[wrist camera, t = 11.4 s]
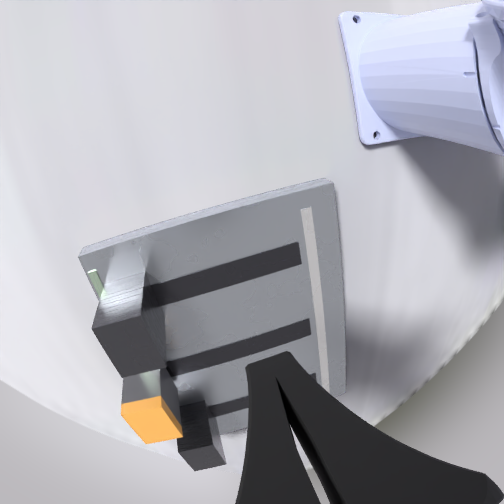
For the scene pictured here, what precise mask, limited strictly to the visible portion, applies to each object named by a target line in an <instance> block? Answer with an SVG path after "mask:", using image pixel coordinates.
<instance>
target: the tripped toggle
mask: <svg viewBox="0 0 504 504" xmlns="http://www.w3.org/2000/svg"><path fill="white" fill-rule="evenodd" d="M121 416H122V417H123V418H124V419H125V420H126V422H127V423H128V424H129V425H130V426H131V428H132V429H133V430H134V431H135V432H136V433H137V435H138V436H139V437H140V438H141V439H142V440H143V441H144V442H145V444H149V443H155V442H161V441H166V440H171V439H176V438H181V437H183V433H182V425H181V416H180V407H179V397H178V389H177V387H176V385H175V383H174V382H173V380H172V378H171V376H170V375H169V373H168V371H167V369H166V368H162V369H157V370H153V371H149V372H145V373H141V374H137V375H132V376H128V377H123V390H122V404H121Z"/></svg>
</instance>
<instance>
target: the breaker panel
mask: <svg viewBox="0 0 504 504" xmlns="http://www.w3.org/2000/svg"><path fill="white" fill-rule="evenodd" d="M78 258H79V260H80V262H81V264H82V267H83V269H84V271H85V273H86V275H87V277H88V279H89V282H90V284H91V286H92V288H93V290H94V292H95V294H96V296H97V298H98V300H99V304H98V308H97V311H96V315H95V318H94V322H93V325H92V330H93V332H94V334H95V335H96V337H97V339H98V340H99V342H100V344H101V345H102V347H103V349H104V350H105V352H106V354H107V355H108V357H109V358H110V360H111V362H112V363H113V365H114V366H115V368H116V369H117V371H118V372H119V374H120V375H121V377H122V378H123V377H128V376H132V375H137V374H141V373H145V372H149V371H153V370H157V369H162V368H166V369H167V371H168V373H169V375H170V376H171V378H172V380H173V382H174V383H175V385H176V387H177V389H178V397H179V407H180V416H181V425H182V433H183V437H181V438H177V446H178V453H179V454H180V455H181V456H182V457H183V458H184V460H185V461H186V462H187V463H188V464H189V465H190V466H191V467H192V469H193V470H194V471H198V470H203V469H207V468H212V467H216V466H221V465H225V464H226V460H225V456H224V452H223V447H222V443H221V438H220V435H222V434H226V433H229V432H233V431H237V430H240V429H244V428H247V427H248V405H249V403H248V383H247V375H246V370H245V367H246V366H247V365H248V364H250V363H253V362H256V361H259V360H262V359H265V358H268V357H271V356H274V355H276V354H279V353H282V352H285V351H288V352H291V354H292V355H293V356H294V358H295V359H296V360H297V361H298V363H299V364H300V365H301V366H302V367H303V368H304V369H305V370H306V371H307V373H308V374H309V375H310V376H311V377H312V378H313V379H314V380H315V381H316V382H317V383H319V384H320V385H321V386H322V387H323V388H324V389H325V390H326V391H327V392H328V393H330V394H331V395H332V396H333V397H337V396H339V395H342V394H344V393H346V348H345V316H344V295H343V278H342V264H341V251H340V239H339V228H338V218H337V209H336V199H335V191H334V183H333V182H331V181H329V180H327V179H325V178H321V179H317V180H313V181H309V182H305V183H301V184H297V185H293V186H289V187H285V188H281V189H277V190H273V191H270V192H266V193H262V194H258V195H254V196H251V197H247V198H243V199H240V200H236V201H232V202H229V203H225V204H222V205H218V206H215V207H211V208H208V209H204V210H201V211H197V212H194V213H190V214H187V215H184V216H180V217H177V218H174V219H170V220H167V221H164V222H160V223H157V224H154V225H151V226H147V227H144V228H141V229H138V230H135V231H132V232H129V233H125V234H122V235H119V236H116V237H113V238H110V239H107V240H104V241H101V242H98V243H95V244H92V245H89V246H86V247H83V249H82V251H81V252H80V254H79V256H78Z"/></svg>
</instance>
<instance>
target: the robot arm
mask: <svg viewBox="0 0 504 504" xmlns="http://www.w3.org/2000/svg"><path fill="white" fill-rule="evenodd" d="M481 1H482V2H480V3H472V4H465V5H458V6H452V7H447V8H441V9H436V10H431V11H426V12H421V13H417V14H413V15H408V16H403V15H394V14H383V13H369V12H343V13H341V14H340V15H339V17H338V20H339V25H340V29H341V33H342V38H343V42H344V47H345V52H346V57H347V62H348V67H349V72H350V78H351V84H352V89H353V95H354V102H355V108H356V115H357V122H358V129H359V137H360V140H361V142H362V143H364V144H366V145H373V144H379V143H384V142H390V141H396V140H402V139H409V138H415V137H422V136H430V137H434V138H439V139H443V140H447V141H451V142H455V143H459V144H463V145H467V146H470V147H474V148H478V149H481V150H485V151H488V152H491V153H495V154H498V155H501V156H504V0H481ZM353 17H355V18H356V19H357V23H355V22H354V21H353ZM374 132H376V133H377V136H376V138H375V139H374V137H373V134H374ZM245 370H246V375H247V383H248V403H249V405H248V431H247V441H246V451H245V459H244V465H243V471H242V477H241V482H240V487H239V491H238V495H237V499H236V503H235V504H321V503H320V501H319V499H318V497H317V494H316V492H315V490H314V488H313V486H312V483H311V481H310V479H309V477H308V474H307V472H306V469H305V467H304V465H303V462H302V460H301V458H300V455H299V453H298V451H297V448H296V444H295V441H294V437H293V434H292V430H291V427H292V429H293V431H294V433H295V435H296V437H297V439H298V441H299V442H300V444H301V446H302V448H303V450H304V452H305V454H306V455H307V457H308V459H309V461H310V463H311V465H312V466H313V468H314V470H315V472H316V473H317V475H318V477H319V479H320V481H321V484H322V486H323V488H324V490H325V492H326V495H327V497H328V499H329V502H330V504H499V503H500V502H501V501H502V500H503V498H504V494H503V493H502V491H501V490H500V488H499V487H498V486H497V485H496V484H495V483H494V482H493V481H492V480H491V479H490V478H489V477H488V476H487V475H486V474H483V473H480V472H477V471H473V470H469V469H466V468H462V467H459V466H456V465H453V464H450V463H447V462H444V461H442V460H439V459H436V458H433V457H431V456H429V455H427V454H424V453H422V452H420V451H418V450H416V449H413V448H411V447H409V446H407V445H405V444H403V443H401V442H399V441H397V440H395V439H393V438H392V437H390V436H388V435H386V434H385V433H383V432H381V431H380V430H378V429H377V428H375V427H373V426H372V425H370V424H369V423H367V422H366V421H364V420H363V419H361V418H360V417H359V416H357V415H356V414H354V413H353V412H352V411H350V410H349V409H348V408H346V407H345V406H344V405H343V404H341V403H340V402H339V401H338V400H337V399H335V398H334V397H333V396H332V395H331V394H330V393H328V392H327V391H326V390H325V389H324V388H323V387H322V386H321V385H320V384H319V383H317V382H316V381H315V380H314V379H313V378H312V377H311V376H310V375H309V374H308V373H307V371H306V370H305V369H304V368H303V367H302V366H301V365H300V364H299V363H298V361H297V360H296V359H295V358H294V356H293V355H292V354H291V352H288V351H285V352H282V353H279V354H276V355H274V356H271V357H268V358H265V359H262V360H259V361H256V362H253V363H250V364H248V365H247V366H246V367H245ZM290 425H291V427H290Z"/></svg>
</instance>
